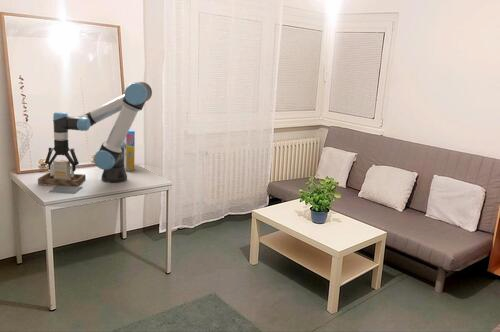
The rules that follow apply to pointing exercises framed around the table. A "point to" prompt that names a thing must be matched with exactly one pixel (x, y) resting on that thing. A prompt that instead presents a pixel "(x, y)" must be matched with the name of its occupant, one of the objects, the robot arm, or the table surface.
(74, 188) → the rubber mat
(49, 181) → the brown wooden tray
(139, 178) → the table surface
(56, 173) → the supplement box
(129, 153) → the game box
